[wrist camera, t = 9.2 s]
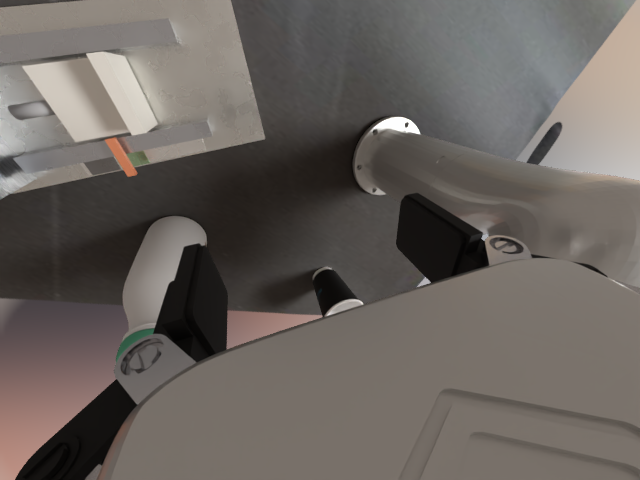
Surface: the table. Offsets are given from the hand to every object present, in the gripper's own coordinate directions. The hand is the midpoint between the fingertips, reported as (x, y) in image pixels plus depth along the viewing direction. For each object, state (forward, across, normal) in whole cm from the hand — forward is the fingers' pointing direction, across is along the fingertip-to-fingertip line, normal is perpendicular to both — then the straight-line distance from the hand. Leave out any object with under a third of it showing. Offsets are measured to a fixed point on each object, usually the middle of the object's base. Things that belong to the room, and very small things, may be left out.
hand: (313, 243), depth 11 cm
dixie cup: (+27, -6, +29) cm, 40 cm away
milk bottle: (+26, +15, +12) cm, 32 cm away
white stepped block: (+24, +16, -4) cm, 29 cm away
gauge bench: (+26, +14, -6) cm, 30 cm away
